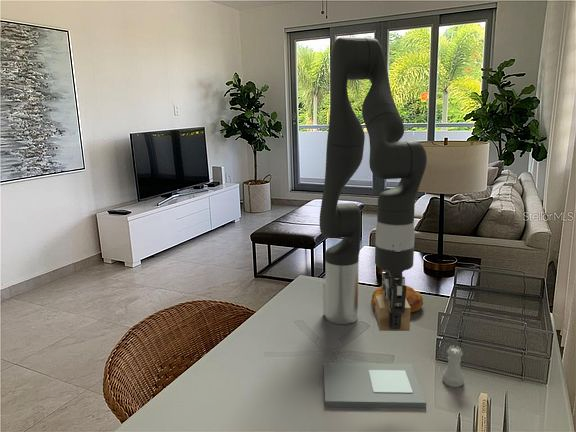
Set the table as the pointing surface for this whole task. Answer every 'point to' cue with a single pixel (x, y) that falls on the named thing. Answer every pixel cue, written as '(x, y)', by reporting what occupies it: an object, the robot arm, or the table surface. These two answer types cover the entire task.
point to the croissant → (411, 297)
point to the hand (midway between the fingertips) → (391, 320)
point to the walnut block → (383, 315)
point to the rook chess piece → (453, 368)
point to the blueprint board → (372, 385)
